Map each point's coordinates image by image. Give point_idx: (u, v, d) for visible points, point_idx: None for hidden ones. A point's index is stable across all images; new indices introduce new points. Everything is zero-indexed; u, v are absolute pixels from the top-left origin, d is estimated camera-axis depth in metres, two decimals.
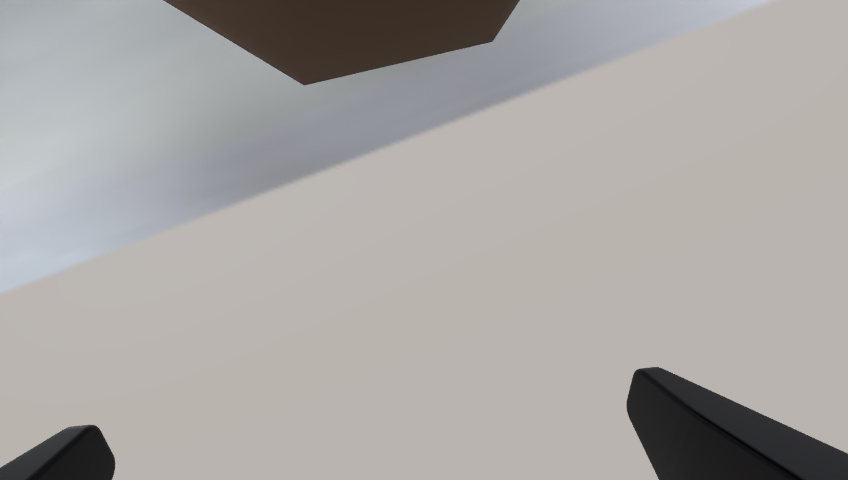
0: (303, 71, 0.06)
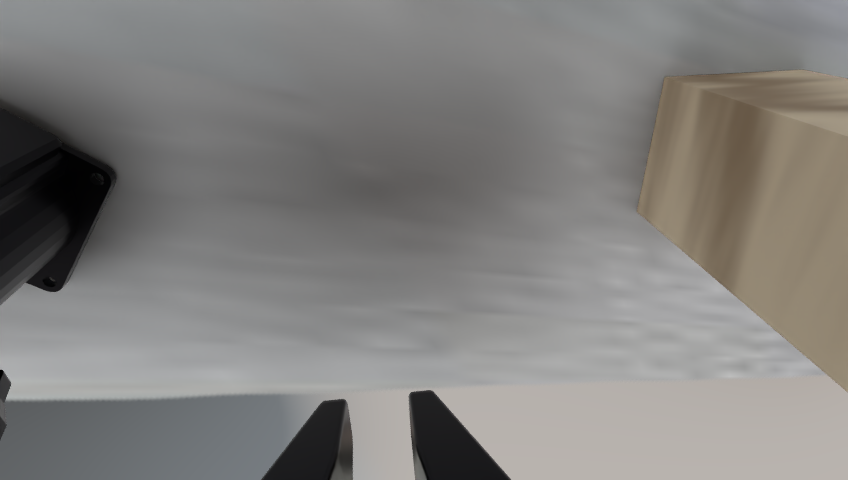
0: None
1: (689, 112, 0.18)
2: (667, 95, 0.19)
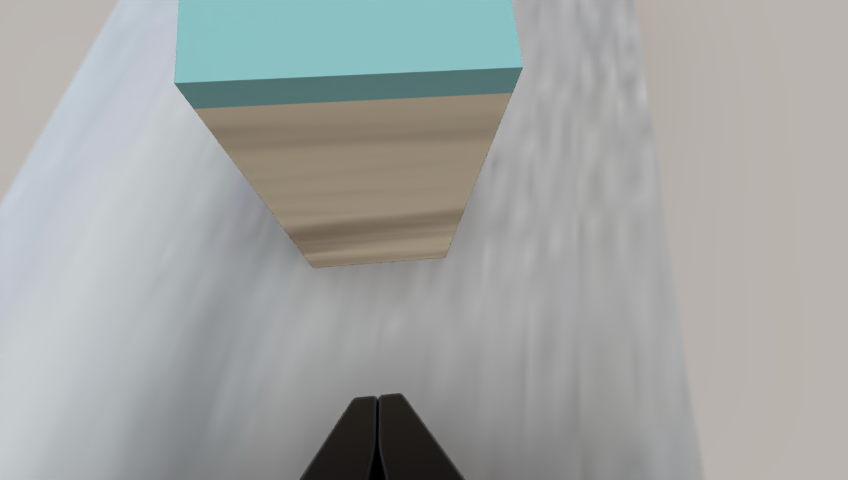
0: None
1: (327, 254, 0.20)
2: (325, 264, 0.21)
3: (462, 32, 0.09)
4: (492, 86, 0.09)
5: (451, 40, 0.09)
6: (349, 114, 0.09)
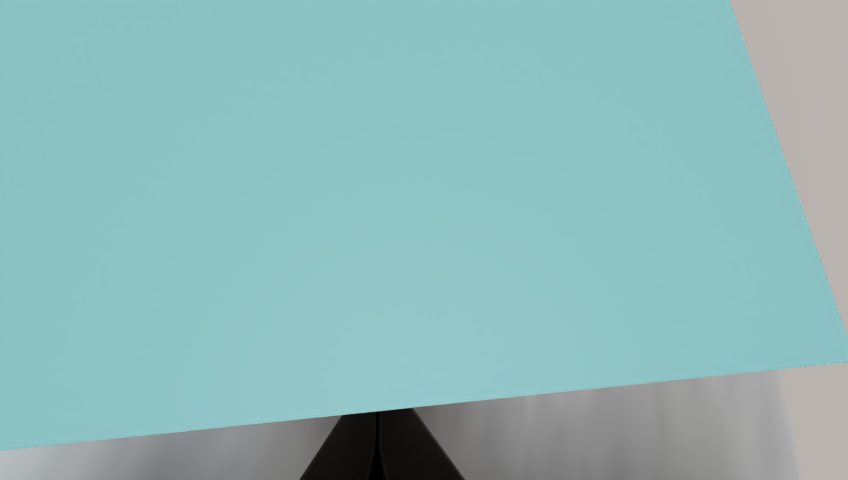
0: None
1: None
2: None
3: (657, 244, 0.03)
4: None
5: (627, 272, 0.03)
6: None
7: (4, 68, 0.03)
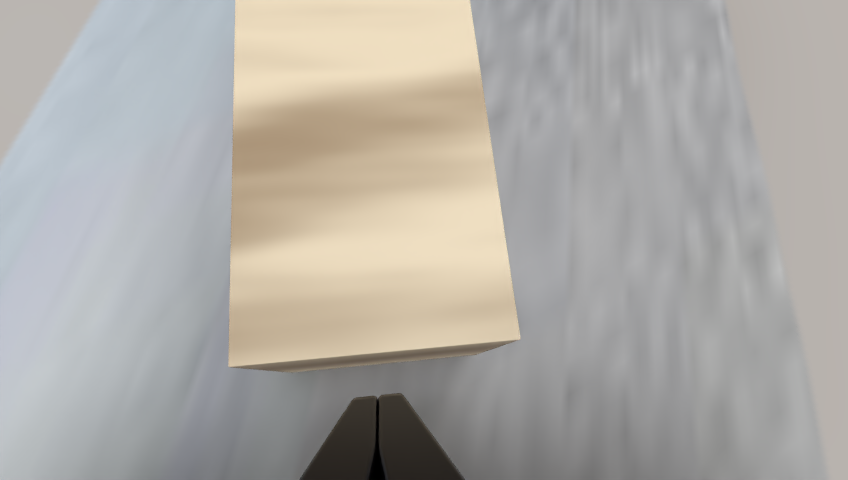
0: None
1: (274, 265, 0.10)
2: (261, 341, 0.10)
3: None
4: None
5: None
6: None
7: None
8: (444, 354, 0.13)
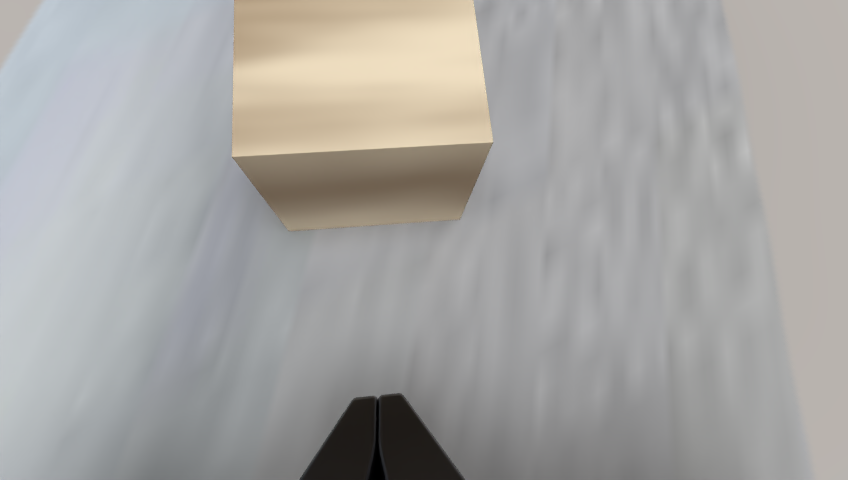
0: None
1: (272, 76, 0.11)
2: (261, 137, 0.11)
3: None
4: None
5: None
6: None
7: None
8: (429, 198, 0.15)
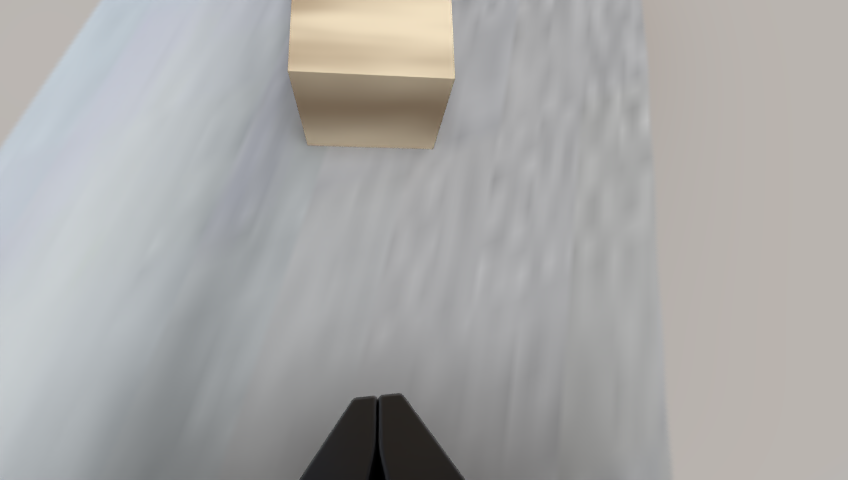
0: None
1: (316, 23, 0.17)
2: (306, 60, 0.17)
3: None
4: None
5: None
6: None
7: None
8: (411, 125, 0.21)
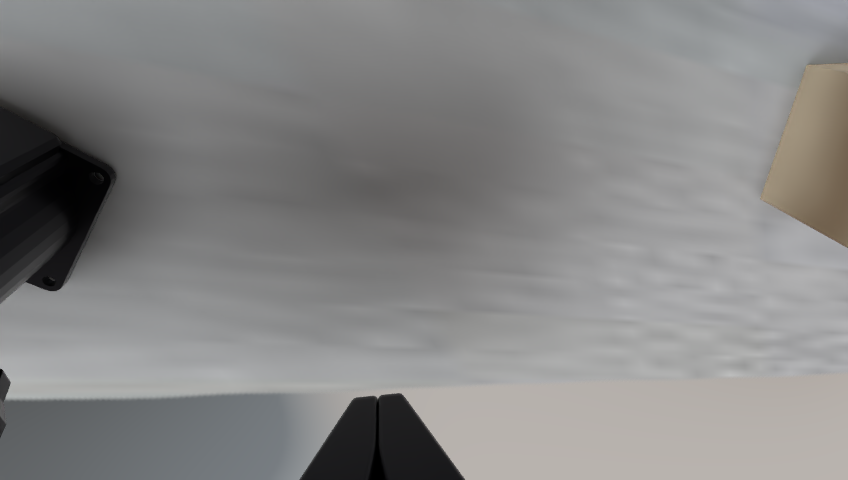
0: None
1: None
2: None
3: None
4: None
5: None
6: None
7: None
8: (810, 193, 0.20)
